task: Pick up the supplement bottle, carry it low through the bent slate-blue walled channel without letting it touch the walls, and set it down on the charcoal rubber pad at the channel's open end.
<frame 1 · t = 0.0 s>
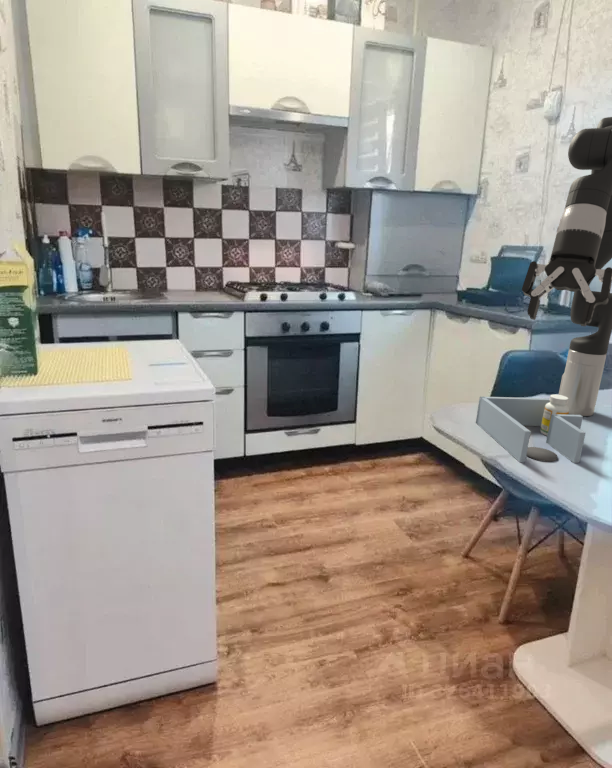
hand: (556, 321, 98), 31 cm above the table, tool tilted 20°, fingers open, 8 cm apart
channel: (524, 442, 126), on the table
supplement bottle: (551, 434, 133), on the table
pad: (540, 454, 119), on the table
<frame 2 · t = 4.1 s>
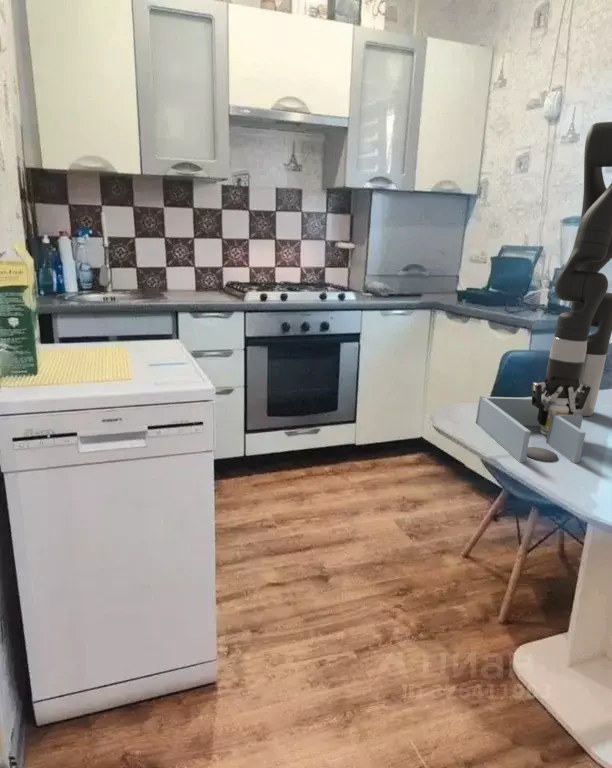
hand: (553, 424, 132), 3 cm above the table, tool pointing down, fingers closed on supplement bottle, 5 cm apart
supplement bottle: (551, 434, 133), on the table, touching gripper
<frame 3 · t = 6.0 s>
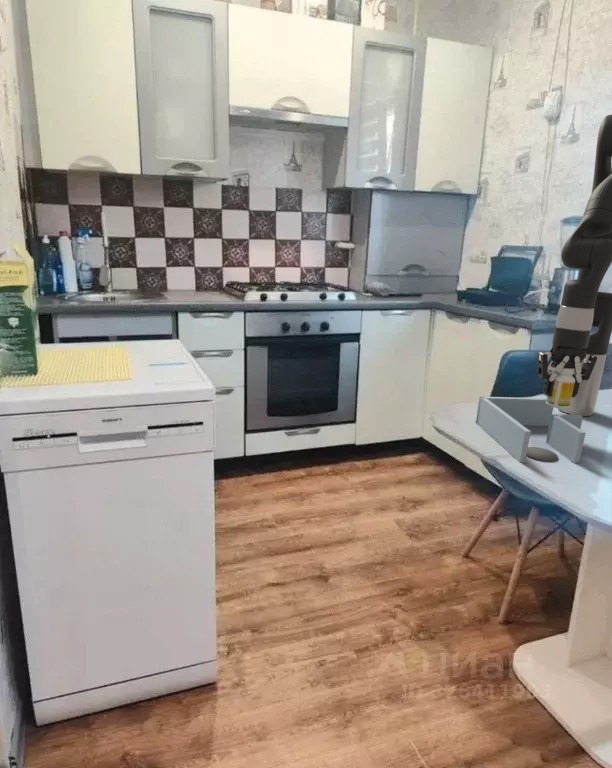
hand: (559, 395, 130), 10 cm above the table, tool pointing down, fingers closed on supplement bottle, 5 cm apart
supplement bottle: (557, 406, 131), point 7 cm above the table, touching gripper
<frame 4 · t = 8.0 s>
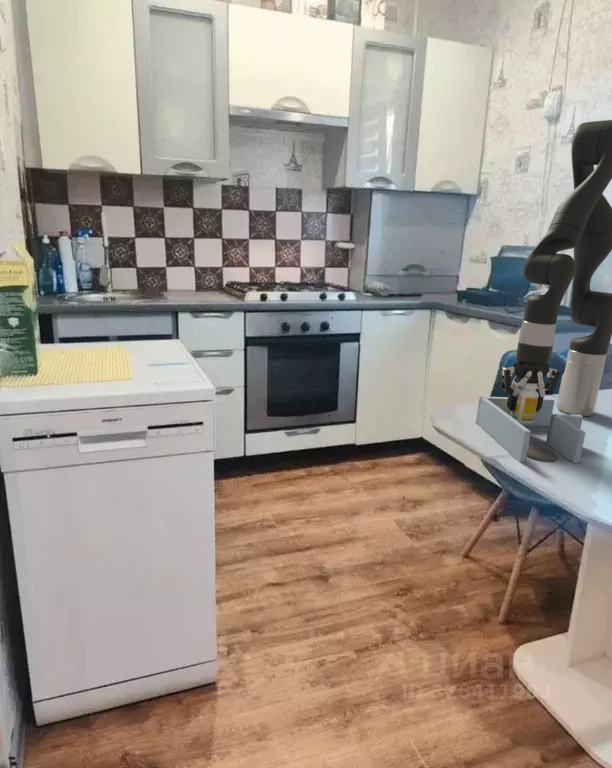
hand: (523, 410, 130), 6 cm above the table, tool pointing down, fingers closed on supplement bottle, 5 cm apart
supplement bottle: (521, 420, 131), point 3 cm above the table, touching gripper
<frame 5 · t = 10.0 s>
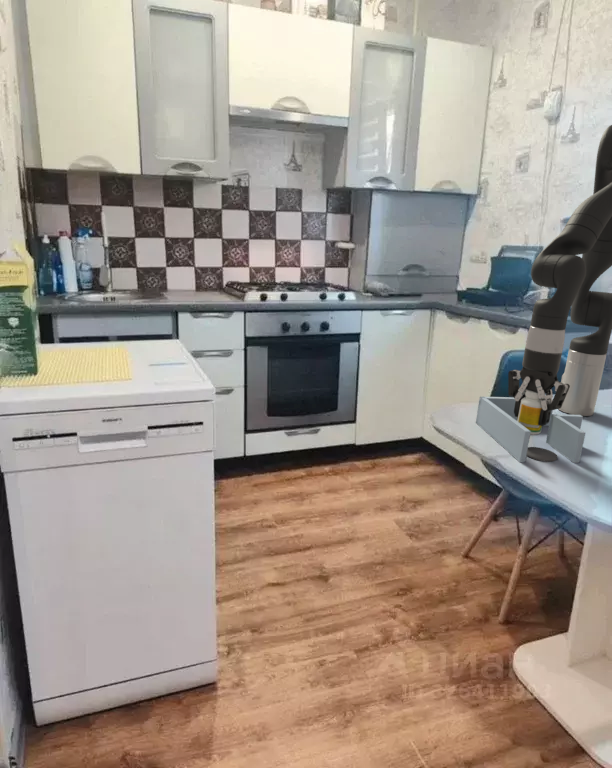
hand: (530, 420, 123), 6 cm above the table, tool pointing down, fingers closed on supplement bottle, 5 cm apart
supplement bottle: (528, 431, 123), point 3 cm above the table, touching gripper
when the fingers open (4 cm above the table, at t = 11.9 s): supplement bottle stays where it is, resting on pad.
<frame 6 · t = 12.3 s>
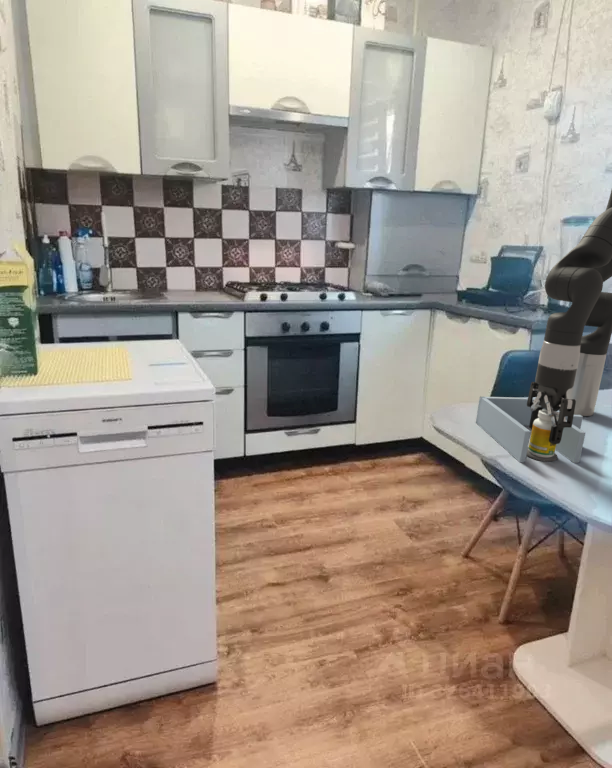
hand: (543, 435, 118), 5 cm above the table, tool pointing down, fingers open, 8 cm apart
supplement bottle: (540, 454, 119), resting on pad
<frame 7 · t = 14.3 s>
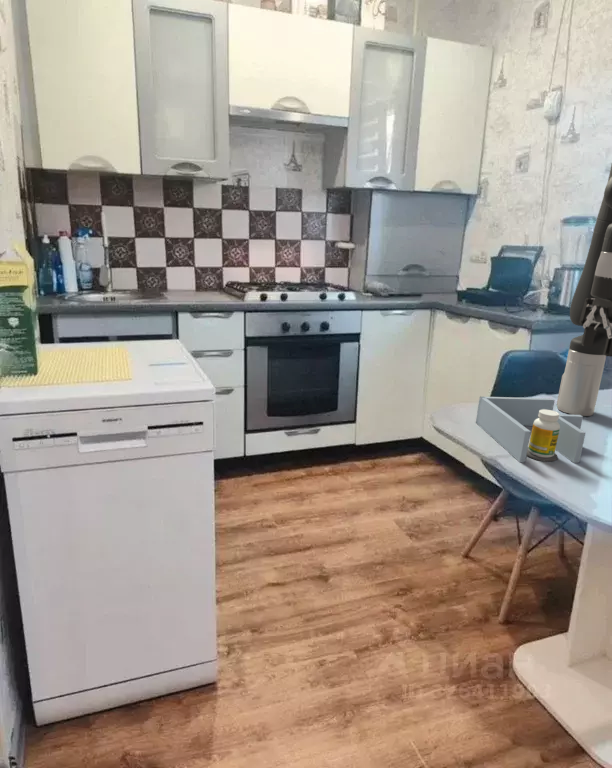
hand: (597, 350, 117), 23 cm above the table, tool pointing down, fingers open, 8 cm apart
nothing on the table moved.
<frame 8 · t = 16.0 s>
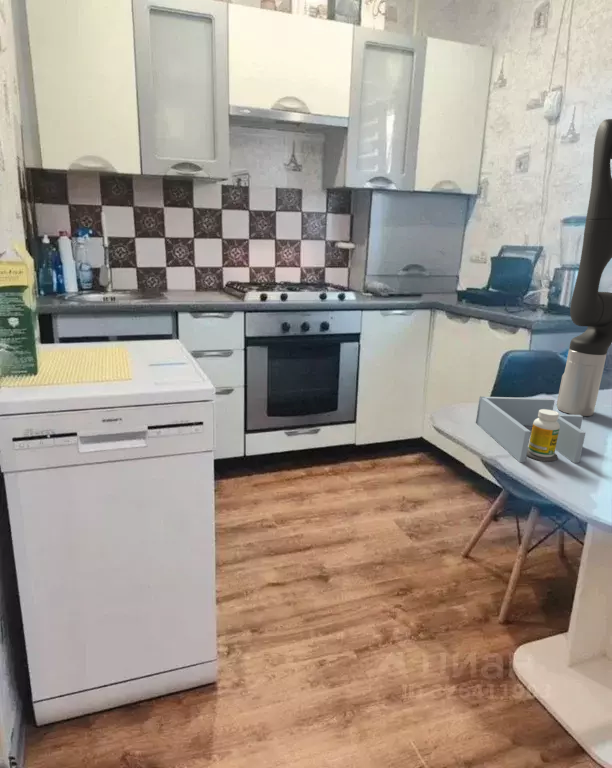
nothing on the table moved.
at the end: supplement bottle 0.1 cm from the pad (horizontally); supplement bottle tilted 1°; supplement bottle touching pad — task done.
